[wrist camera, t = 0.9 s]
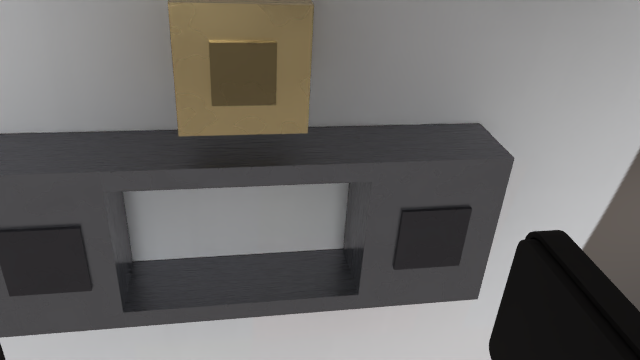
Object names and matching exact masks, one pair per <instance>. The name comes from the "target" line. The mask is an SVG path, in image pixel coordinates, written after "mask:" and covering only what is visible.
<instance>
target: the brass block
mask: <svg viewBox="0 0 640 360" xmlns="http://www.w3.org/2000/svg"><path fill="white" fill-rule="evenodd" d="M168 11H169V23H170V35H171V48H172V60H173V73H174V85H175V97H176V110H177V122H178V135H179V136H214V135H256V134H298V133H308V117H309V96H310V76H311V55H312V34H313V13H314V4H313V3H312V1H311V0H168Z"/></svg>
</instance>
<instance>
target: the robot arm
mask: <svg viewBox="0 0 640 360" xmlns="http://www.w3.org/2000/svg"><path fill="white" fill-rule="evenodd" d="M489 351H490V356H491V359H492V360H640V312H639V311H638V309H637V308H636V307H635V306H634V305H633V304H632V303H631V302H630V301H629V300H628V299H627V298H626V297H625V296H624V295H623V293H622V292H621V291H620V290H619V289H618V288H617V287H616V286H615V285H614V284H613V283H612V282H611V281H610V280H609V279H608V277H607V276H606V275H605V274H604V273H603V272H602V271H601V270H600V269H599V268H598V267H597V266H596V265H595V264H594V262H593V261H592V260H591V259H590V258H589V257H588V256H587V255H586V254H585V253H584V252H583V251H582V250H581V248H580V247H579V246H578V245H577V244H576V243H575V242H574V241H573V240H572V239H571V238H570V237H569V236H568V235H567V234H566V233H565V232H564V231H561V230H551V231H534V232H530V233H529V234H528V235H527V236H526V238H525V240H521V241H520V242H519V244H518V246H517V249H516V252H515V256H514V259H513V263H512V266H511V269H510V273H509V276H508V280H507V283H506V286H505V290H504V293H503V297H502V300H501V303H500V307H499V310H498V314H497V317H496V321H495V324H494V327H493V331H492V334H491V338H490V342H489ZM0 360H5V357H4V354H3V351H2V347H1V344H0Z"/></svg>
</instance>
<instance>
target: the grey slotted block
mask: <svg viewBox="0 0 640 360" xmlns="http://www.w3.org/2000/svg"><path fill="white" fill-rule="evenodd" d="M513 161H514V157H513V156H512V155H511V154H510V153H509V152H508V151H507V150H506V149H505V148H504V147H503V146H502V145H501V144H500V143H499V142H498V141H497V140H496V139H495V138H494V137H493V136H492V135H491V134H490V133H489V132H488V131H487V130H486V129H485V128H484V127H483V126H482V125H481V124H438V125H392V126H347V127H308V133H298V134H256V135H214V136H179V135H178V130H164V131H119V132H73V133H27V134H0V337H13V336H25V335H37V334H50V333H62V332H75V331H87V330H99V329H112V328H124V327H137V326H149V325H162V324H174V323H186V322H199V321H211V320H224V319H236V318H248V317H261V316H273V315H286V314H298V313H310V312H323V311H335V310H348V309H360V308H373V307H385V306H397V305H410V304H422V303H435V302H447V301H459V300H472V299H478V296H479V292H480V288H481V284H482V280H483V276H484V273H485V269H486V265H487V261H488V257H489V253H490V250H491V246H492V242H493V238H494V234H495V230H496V226H497V223H498V219H499V215H500V211H501V207H502V203H503V200H504V196H505V192H506V188H507V184H508V180H509V177H510V173H511V169H512V165H513ZM348 182H350V183H349V193H348V204H347V214H346V225H345V236H344V246H343V249H337V250H320V251H304V252H288V253H271V254H255V255H239V256H222V257H206V258H190V259H173V260H157V261H140V262H133V261H132V254H131V247H130V240H129V233H128V226H127V219H126V212H125V205H124V199H123V192H122V191H147V190H172V189H197V188H222V187H247V186H272V185H297V184H323V183H348Z"/></svg>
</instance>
